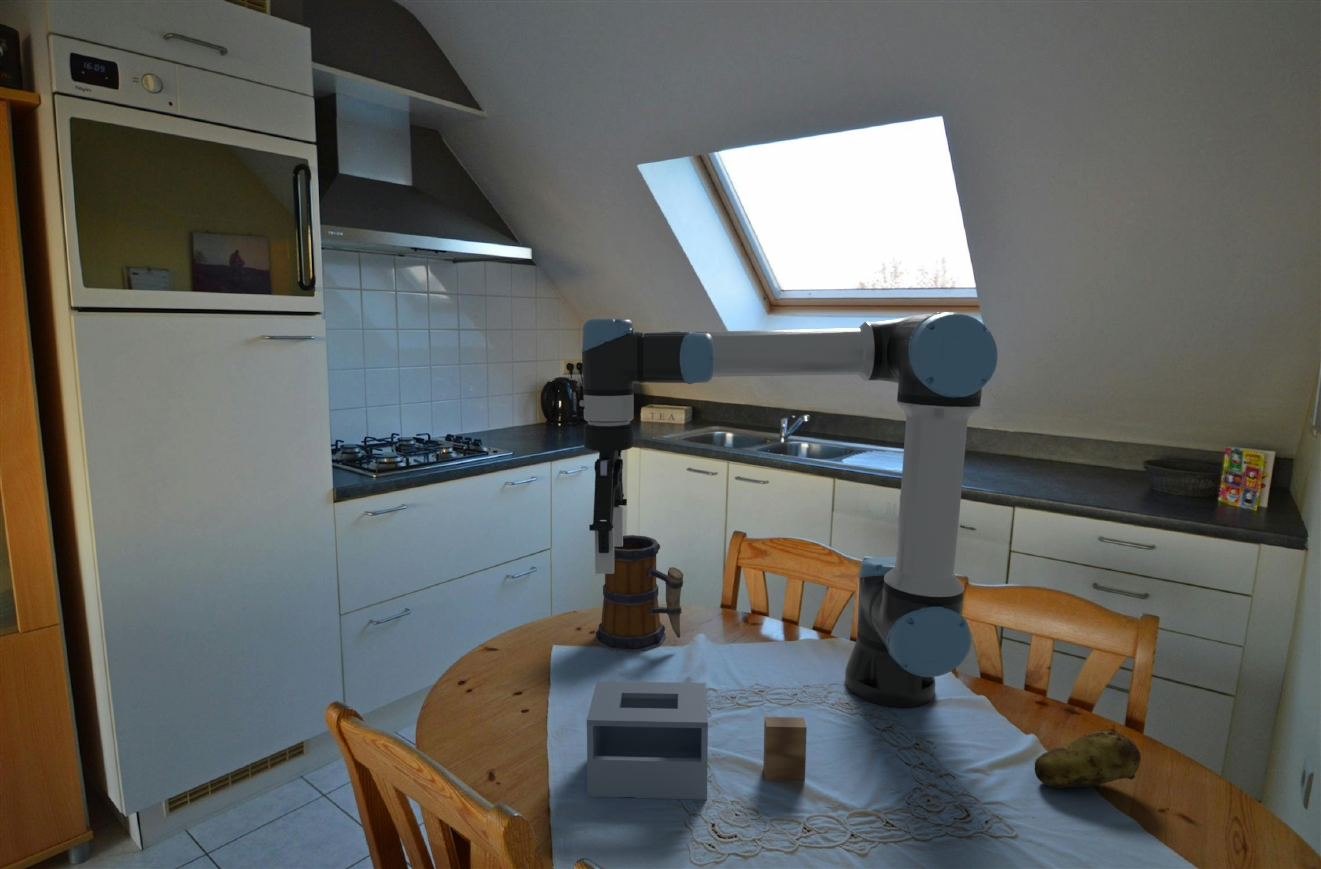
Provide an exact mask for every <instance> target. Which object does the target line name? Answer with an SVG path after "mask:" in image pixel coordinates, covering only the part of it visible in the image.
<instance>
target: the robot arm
mask: <svg viewBox="0 0 1321 869" xmlns="http://www.w3.org/2000/svg"><path fill="white" fill-rule="evenodd" d="M997 348H998V347H997V343H996V341H995V338H994V336H993V335H992V332H991V331H990V330H989V328H987V327H986V325H985V324H984V323H983V322H981V321H980V320H979V319H977V318H975V317H973V316H971V315H968V314H965V313H960V312H952V311H949V310H948V311H943V312H942V311H941V312H938V311H937V312H933V313H921V314H916V315H915V314H914V315H911V316H905V317H900V318H897V319H890V320H883V321H879V320H878V321H864V322H863V323H862V324H861V325H860V326H859V327H856V328H854V327H853V328H820V329H819V328H816V329H815V328H813V329H811V328H810V329H808V328H807V329H766V330H763V329H762V330H761V329H760V330H724V331H723V330H722V331H721V330H720V331H719V330H718V331H668V332H639V331H635V328H634V325H633V321H632V320H631V319H630V318H629V319H627V318H626V319H625V318H613V319H612V318H592V319H588V320H587V321H586V322H584V324H583V327H582V349H581V359H582V388H583V389H582V393H583V399H581V400H579V406H580V407H583V408H584V409H583V420H585V421H586V422H587V423H585V424H584V425H583V446H584V448H585V449H586V450H589V451H597V452H598V454H599V455H598V458H597V459H596V460H595V462H594V466H593V467H594V468H593V469H594V474H595V475H594V476H595V478H594V493H593V494H594V495H593V496H594V498H593V499H594V500H593V514H592V515H593V517H592V518H593V519H592V520H593V521H592V524H589V527H588V528H589V532H592V531H593V532H594V567H595V568H594V571H595V572H594V573H595V575H597V574H600V575H601V574H602V575H603V574H604V575H605V574H614V547H623V536H624V529H623V528H624V527H623V526H624V522H623V519H624V518H623V516H624V515H623V514H624V512H623V508H624V507H623V506H627V505H628V504H627V502H628V499H627V498H624V497H625V494H624V486H623V484H624V483H623V466H624V460H623V458H622V451H627V450H630V449H632V448H633V446H634V424H632V423H631V421H632V420H634V412H635V410H634V405H635V404H634V401H635V400H634V398H635V397H634V394H635V393H634V384H635V383H637V384H644V383H649V384H650V383H651V384H652V383H653V384H654V383H656V384H688V385H692V384H699V383H701V384H703V383H704V384H705V383H708V382H710V381H711V380H712V378H715V377H716V378H717V377H719V378H720V377H722V378H723V377H729V378H731V377H776V376H777V377H778V376H779V377H784V376H786V377H787V376H788V377H789V376H790V377H791V376H793V377H795V376H796V377H797V376H851V375H857V376H859V378H860V379H862V380H863V381H881V382H882V381H883V382H891V383H896V384H897V397H896V403H897V405H898V406H899V407H900V408H901V409H902V411H903V412H904V413H905V415H906V417H905V418H906V419H905V433H904V441H903V442H904V445H903V455H902V456H903V458H902V468H901V469H902V471H901V485H900V494H899V495H900V496H899V508H898V509H899V510H898V522H897V524H898V525H897V535H896V536H897V537H896V551H895V556H874V557H869V558H866V559H864V560H863V561H862V562H861V564H860V568H859V575H858V576H857V577H858V580H859V581H858V584H859V585H858V606H857V632H856V634H857V635H856V642H855V643H854V647H853V648H852V652H851V654H850V657H849V658H848V662H847V664H846V667H845V672H844V673H845V674H844V675H845V676H844V678H845V679H844V683H845V685H846V687H847V688H848V690H850V692H852V693H853V694H854V695H856V696H858V697H859V698H861V699H863V700H866V701H869V702H871V703H875V704H878V705H883V706H888V707H896V708H910V707H917V706H922V705H925V704H927V703H929V702H930V701H932V700H933V699H934V697H935V694H936V677H941V676H944V675H947V674H949V673H951V672H952V671H953V670H954V669H956V668H957V667H959V666H960V665H962V663H964V661H965V659H967V657H968V655H969V653H970V651H971V646H972V633H971V630H970V628H969V624H968V622H967V621H966V619H965V618H964V617H963V616H962V614H963V613H962V612H963V603H964V592H965V591H964V590H965V586H964V584H963V582H961V580H959V578H958V577H957V576H956V574H955V567H956V557H957V556H956V555H957V545H958V536H959V535H958V534H959V522H960V511H961V498H962V488H963V478H964V477H963V476H964V466H965V465H964V464H965V455H966V443H967V430H968V422H969V419H970V418H969V417H971V416H972V415H973V414H974V413H975V412H977V411H978V410H980V409H981V402H982V394H983V393H982V392H983V391H982V390H983V388H984V386H986V384H988V382H989V381H990V380H991V379H992V377H993V375H994V373H995V372H996V371H995V370H996V368H997V365H998V349H997Z"/></svg>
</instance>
